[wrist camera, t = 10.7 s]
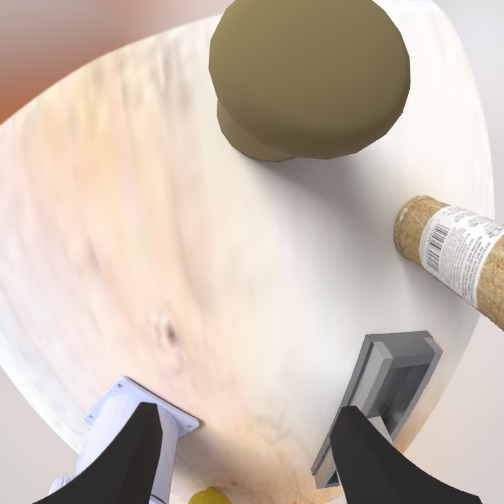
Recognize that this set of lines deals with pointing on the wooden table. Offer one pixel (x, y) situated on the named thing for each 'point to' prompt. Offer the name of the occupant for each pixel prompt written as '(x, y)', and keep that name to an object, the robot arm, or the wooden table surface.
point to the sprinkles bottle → (456, 251)
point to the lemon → (209, 497)
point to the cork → (307, 77)
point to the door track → (383, 387)
